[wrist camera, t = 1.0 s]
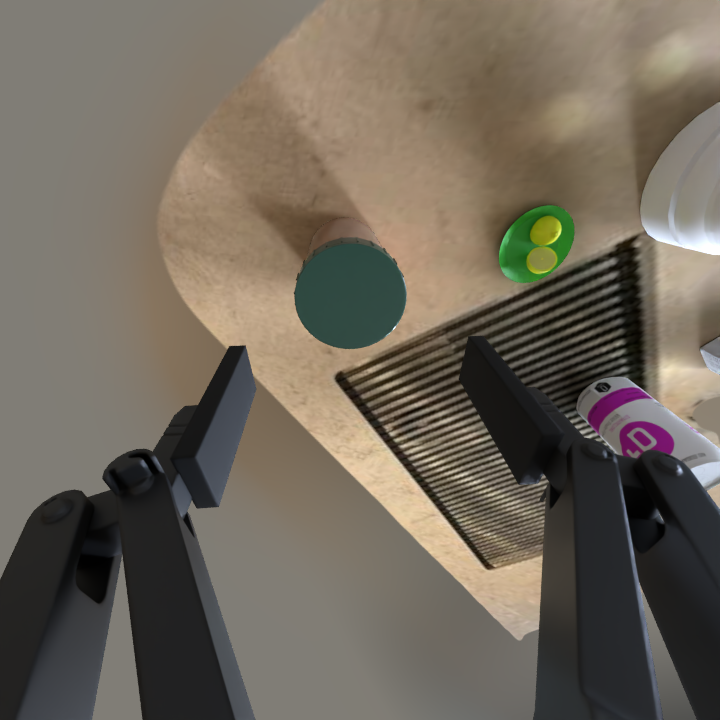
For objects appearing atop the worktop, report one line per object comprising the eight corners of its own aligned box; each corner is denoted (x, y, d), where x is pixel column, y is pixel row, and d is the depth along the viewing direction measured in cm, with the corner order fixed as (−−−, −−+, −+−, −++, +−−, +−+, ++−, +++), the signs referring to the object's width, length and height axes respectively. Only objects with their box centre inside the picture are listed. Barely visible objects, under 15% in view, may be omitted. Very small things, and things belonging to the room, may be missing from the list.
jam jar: (329, 201, 29) (328, 224, 20) (394, 241, 32) (421, 278, 22) (297, 270, 33) (283, 318, 23) (358, 301, 35) (368, 356, 26)
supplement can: (562, 406, 48) (643, 495, 35) (604, 366, 44) (711, 450, 31) (597, 419, 50) (684, 506, 38) (640, 382, 46) (753, 466, 34)
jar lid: (325, 212, 21) (325, 217, 19) (423, 270, 23) (430, 279, 22) (279, 312, 24) (276, 323, 23) (368, 352, 27) (370, 364, 25)
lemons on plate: (569, 266, 35) (586, 274, 32) (499, 290, 36) (511, 300, 33) (572, 191, 30) (592, 194, 28) (493, 221, 31) (506, 227, 29)
